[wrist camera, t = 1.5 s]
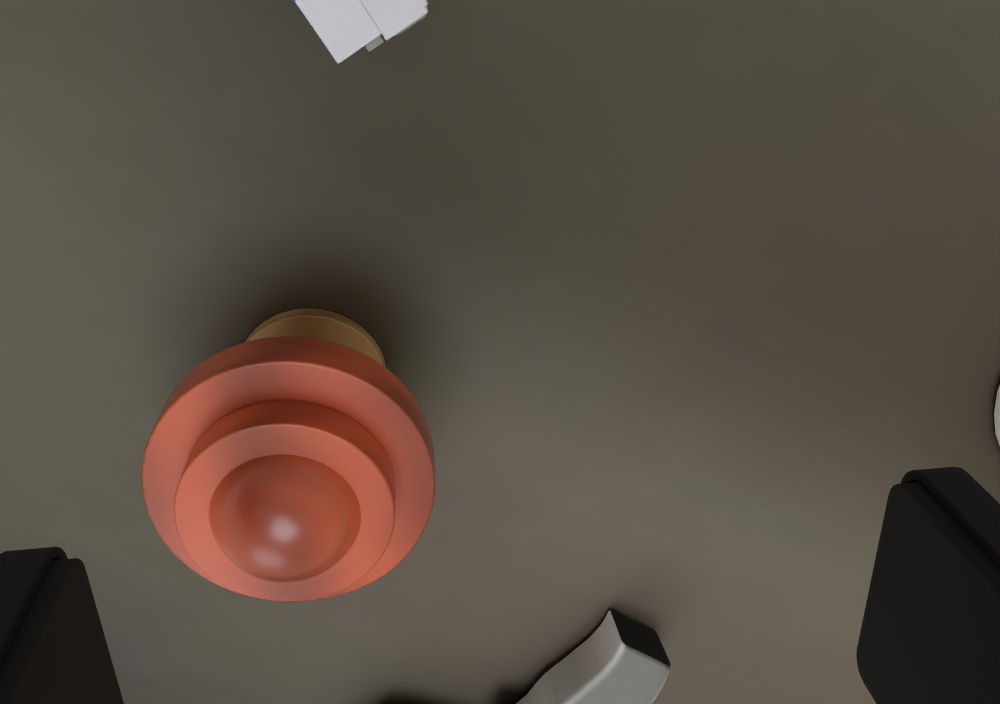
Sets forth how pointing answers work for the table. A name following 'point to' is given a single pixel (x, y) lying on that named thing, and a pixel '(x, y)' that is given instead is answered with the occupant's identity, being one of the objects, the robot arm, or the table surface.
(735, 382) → the table surface
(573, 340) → the table surface
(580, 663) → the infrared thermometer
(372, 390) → the mushroom
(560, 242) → the table surface
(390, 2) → the walkman
